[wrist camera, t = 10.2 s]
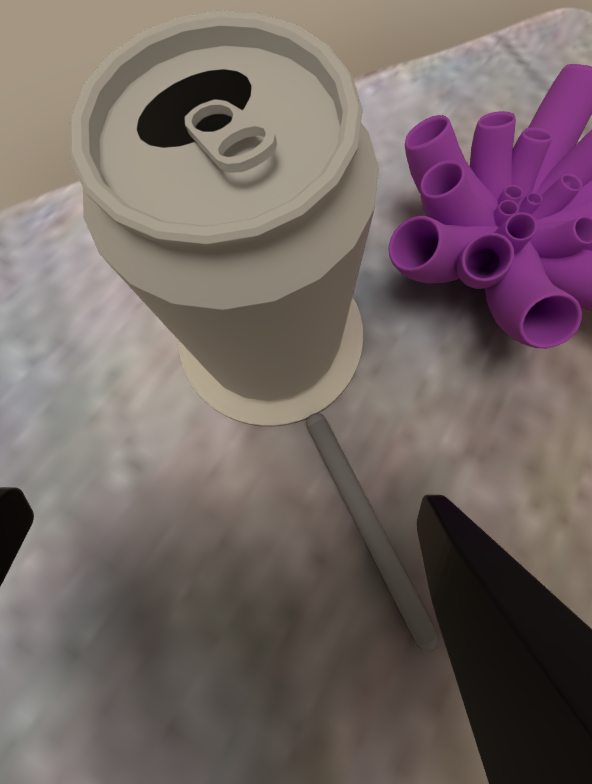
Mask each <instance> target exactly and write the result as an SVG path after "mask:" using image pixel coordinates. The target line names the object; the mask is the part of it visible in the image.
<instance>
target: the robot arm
mask: <svg viewBox="0 0 592 784" xmlns="http://www.w3.org/2000/svg"><path fill="white" fill-rule="evenodd" d="M33 519H34V513H33V510H32V509H31V507H30V505H29V503H28V501H27V499H26V497H25V495H24V494H23V492H22V490H20V489H19V488H13V487H1V488H0V586H1V584H2V582H3V581H4V579H5V577H6V575H7V573H8V571H9V569H10V567H11V565H12V563H13V561H14V559H15V557H16V555H17V553H18V551H19V549H20V547H21V545H22V543H23V541H24V539H25V537H26V535H27V533H28V531H29V529H30V527H31V525H32V523H33ZM417 532H418V537H419V541H420V546H421V551H422V556H423V561H424V566H425V571H426V576H427V581H428V586H429V590H430V595H431V599H432V603H433V607H434V610H435V613H436V617H437V620H438V623H439V626H440V629H441V633H442V636H443V639H444V642H445V645H446V648H447V652H448V655H449V658H450V661H451V664H452V667H453V671H454V674H455V677H456V680H457V683H458V687H459V690H460V693H461V696H462V699H463V702H464V706H465V709H466V712H467V715H468V718H469V722H470V725H471V728H472V731H473V734H474V737H475V741H476V744H477V747H478V750H479V753H480V756H481V760H482V763H483V766H484V769H485V772H486V776H487V779H488V782H489V784H592V629H591V628H590V627H589V626H588V625H587V624H586V623H584V622H583V621H582V620H581V619H580V618H579V617H578V616H577V615H576V614H574V613H573V612H572V611H571V610H570V609H569V608H568V607H567V606H566V605H565V604H563V603H562V602H561V601H560V600H559V599H558V598H557V597H556V596H555V595H554V594H552V593H551V592H550V591H549V590H548V589H547V588H546V587H545V586H544V585H543V584H541V583H540V582H539V581H538V580H537V579H536V578H535V577H534V576H533V575H531V574H530V573H529V572H528V571H527V570H526V569H525V568H524V567H523V566H522V565H520V564H519V563H518V562H517V561H516V560H515V559H514V558H513V557H512V556H511V555H509V554H508V553H507V552H506V551H505V550H504V549H503V548H502V547H501V546H500V545H498V544H497V543H496V542H495V541H494V540H493V539H492V538H491V537H490V536H488V535H487V534H486V533H485V532H484V531H483V530H482V529H481V528H480V527H479V526H477V525H476V524H475V523H474V522H473V521H472V520H471V519H470V518H469V517H468V516H466V515H465V514H464V513H463V512H462V511H461V510H460V509H459V508H458V507H456V506H455V505H454V504H453V503H452V502H451V501H450V500H449V499H448V498H446V497H445V496H443V495H425V496H424V497H423V499H422V503H421V506H420V510H419V514H418V518H417Z"/></svg>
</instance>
